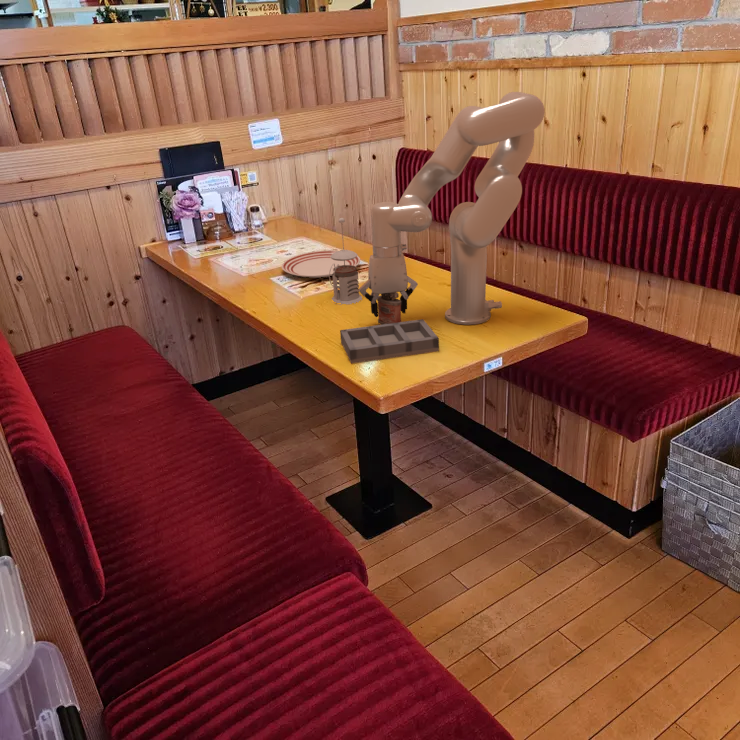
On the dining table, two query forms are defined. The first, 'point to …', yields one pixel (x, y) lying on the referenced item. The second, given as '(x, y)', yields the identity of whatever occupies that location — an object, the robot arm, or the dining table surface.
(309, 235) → the dining table surface
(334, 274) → the french press
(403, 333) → the tray
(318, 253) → the dinner plate
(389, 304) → the lighter
